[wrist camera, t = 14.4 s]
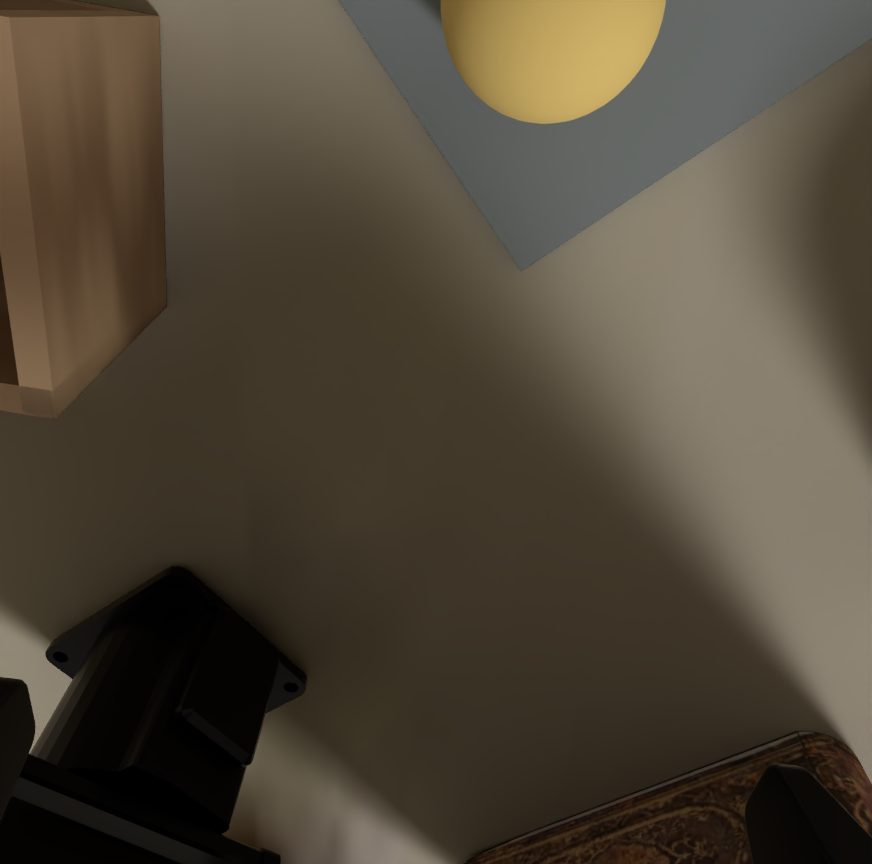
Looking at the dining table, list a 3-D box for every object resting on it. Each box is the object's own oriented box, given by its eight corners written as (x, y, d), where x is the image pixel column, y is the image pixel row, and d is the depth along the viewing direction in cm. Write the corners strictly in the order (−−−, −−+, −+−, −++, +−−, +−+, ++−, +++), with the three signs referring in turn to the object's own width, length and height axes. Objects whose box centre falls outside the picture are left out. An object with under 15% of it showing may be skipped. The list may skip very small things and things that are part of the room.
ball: (540, -144, 14) (532, 79, 17) (384, -128, 12) (403, 125, 15) (733, -148, 12) (689, 112, 14) (582, -127, 10) (562, 172, 12)
